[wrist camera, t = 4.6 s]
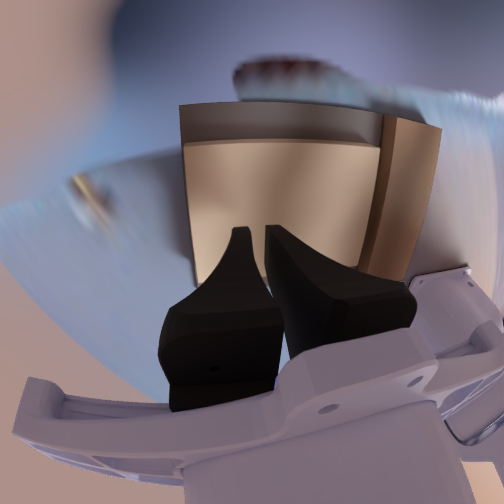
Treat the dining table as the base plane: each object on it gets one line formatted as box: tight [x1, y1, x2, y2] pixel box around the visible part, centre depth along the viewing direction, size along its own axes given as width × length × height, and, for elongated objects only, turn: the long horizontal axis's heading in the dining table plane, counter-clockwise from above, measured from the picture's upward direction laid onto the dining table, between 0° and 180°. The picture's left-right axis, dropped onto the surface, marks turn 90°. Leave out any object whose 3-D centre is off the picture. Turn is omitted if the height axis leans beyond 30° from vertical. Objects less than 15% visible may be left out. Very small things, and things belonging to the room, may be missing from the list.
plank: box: [184, 139, 380, 283], centre depth 15 cm, size 10×8×1 cm
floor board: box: [179, 102, 442, 287], centre depth 16 cm, size 16×12×2 cm
